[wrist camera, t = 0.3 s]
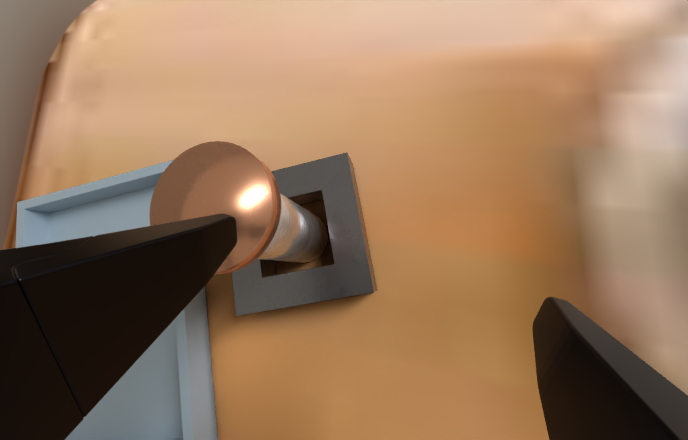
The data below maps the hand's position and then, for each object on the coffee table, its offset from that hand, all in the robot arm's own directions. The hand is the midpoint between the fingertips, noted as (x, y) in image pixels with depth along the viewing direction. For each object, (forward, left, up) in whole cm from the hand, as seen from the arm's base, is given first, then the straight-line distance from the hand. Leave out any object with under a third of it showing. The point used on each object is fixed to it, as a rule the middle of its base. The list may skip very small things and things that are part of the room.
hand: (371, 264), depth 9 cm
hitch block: (+4, +6, -14) cm, 16 cm away
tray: (+1, +23, -14) cm, 27 cm away
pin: (+4, +6, -14) cm, 16 cm away
